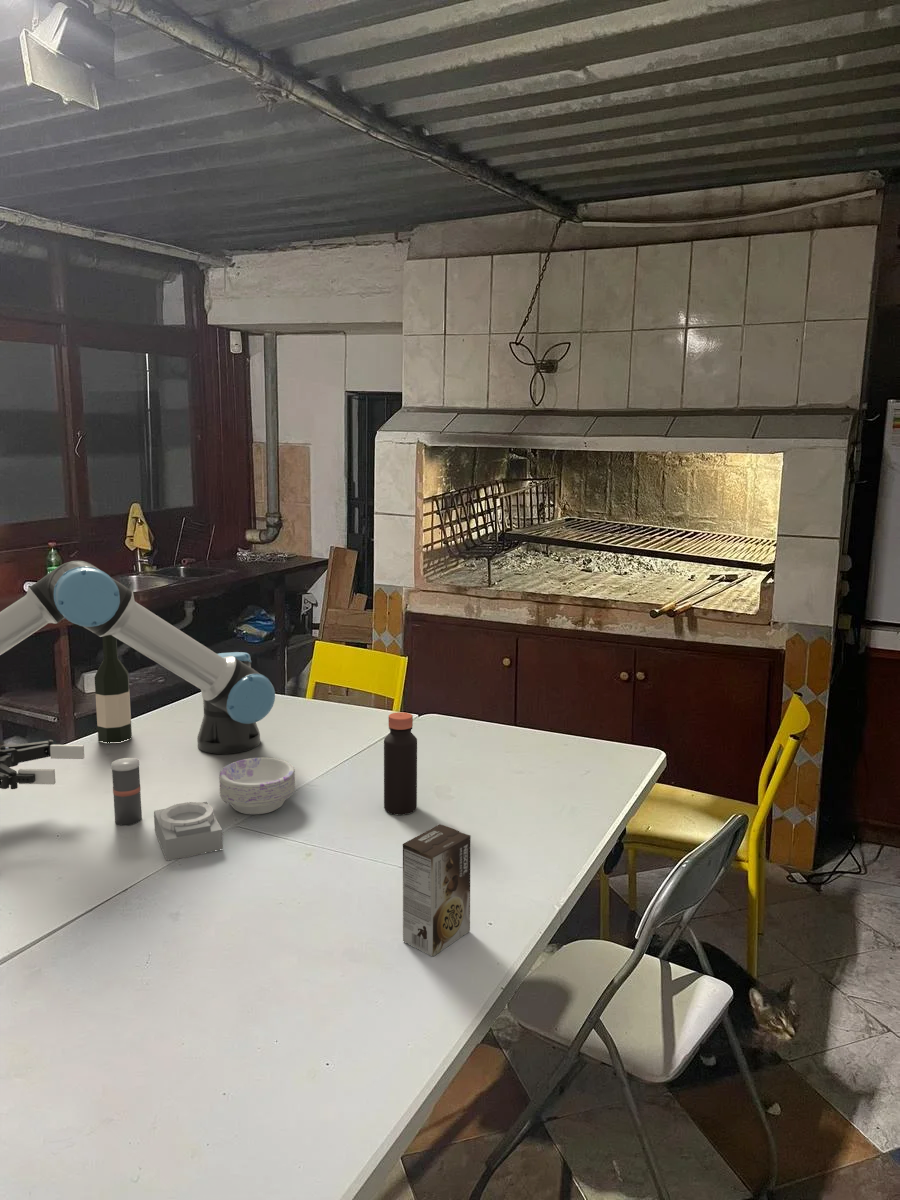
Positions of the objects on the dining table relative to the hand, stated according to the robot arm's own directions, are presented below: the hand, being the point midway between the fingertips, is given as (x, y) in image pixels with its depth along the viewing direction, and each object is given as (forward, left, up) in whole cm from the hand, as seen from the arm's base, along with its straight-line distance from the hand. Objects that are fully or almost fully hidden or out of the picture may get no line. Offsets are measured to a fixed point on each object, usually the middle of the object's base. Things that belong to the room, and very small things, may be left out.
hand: (69, 764), depth 171 cm
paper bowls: (-35, +8, -12) cm, 38 cm away
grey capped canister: (-10, +4, -12) cm, 16 cm away
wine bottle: (-13, -48, -12) cm, 51 cm away
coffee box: (-47, +68, -12) cm, 84 cm away
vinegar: (-61, +22, -12) cm, 66 cm away
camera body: (-19, +18, -12) cm, 29 cm away
